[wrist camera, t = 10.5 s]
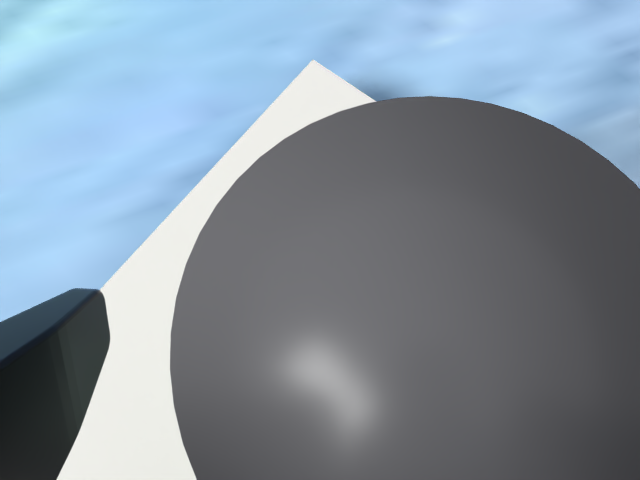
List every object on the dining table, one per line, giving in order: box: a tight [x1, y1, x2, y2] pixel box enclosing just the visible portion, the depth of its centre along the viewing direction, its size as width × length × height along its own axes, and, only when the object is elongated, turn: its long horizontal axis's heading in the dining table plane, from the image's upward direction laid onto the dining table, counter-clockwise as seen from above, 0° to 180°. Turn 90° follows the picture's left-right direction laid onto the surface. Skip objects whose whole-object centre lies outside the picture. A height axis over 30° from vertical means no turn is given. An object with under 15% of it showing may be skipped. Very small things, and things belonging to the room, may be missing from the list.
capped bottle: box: [170, 96, 640, 480], centre depth 11 cm, size 5×5×13 cm
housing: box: [57, 60, 376, 480], centre depth 16 cm, size 15×15×2 cm
